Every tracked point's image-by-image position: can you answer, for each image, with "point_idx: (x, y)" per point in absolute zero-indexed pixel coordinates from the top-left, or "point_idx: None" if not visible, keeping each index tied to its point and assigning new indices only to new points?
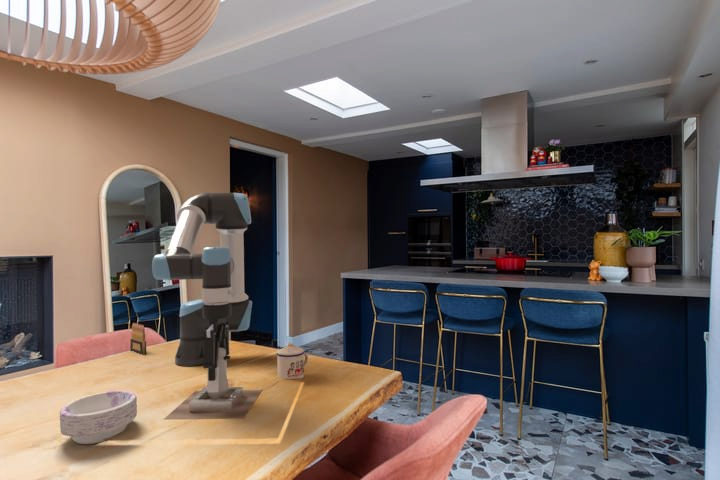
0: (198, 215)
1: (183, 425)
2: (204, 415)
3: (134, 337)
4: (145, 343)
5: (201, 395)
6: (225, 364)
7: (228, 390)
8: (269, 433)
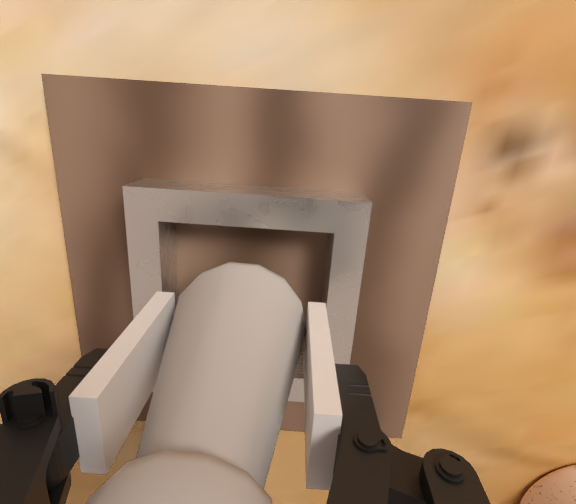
0: None
1: (46, 187)
2: (103, 266)
3: None
4: None
5: (226, 225)
6: (306, 455)
7: None
8: None
